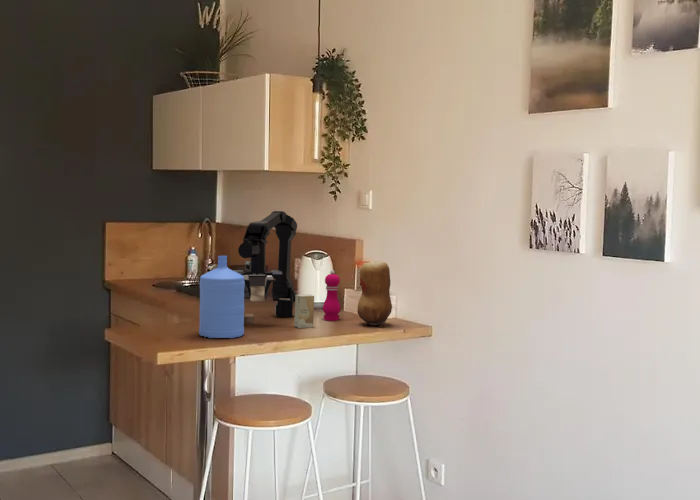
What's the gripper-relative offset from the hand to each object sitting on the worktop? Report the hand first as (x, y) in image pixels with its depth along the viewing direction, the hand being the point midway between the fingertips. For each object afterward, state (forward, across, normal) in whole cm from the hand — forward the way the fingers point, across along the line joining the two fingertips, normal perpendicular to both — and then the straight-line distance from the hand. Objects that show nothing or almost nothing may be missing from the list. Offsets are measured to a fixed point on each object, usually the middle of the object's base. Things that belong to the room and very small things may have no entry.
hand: (257, 297), depth 296 cm
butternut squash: (+11, -46, +1) cm, 47 cm away
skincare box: (+11, -18, +4) cm, 21 cm away
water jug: (+11, +14, +18) cm, 25 cm away
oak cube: (+1, 0, 0) cm, 1 cm away
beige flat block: (+11, +4, -8) cm, 14 cm away
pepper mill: (+11, -31, -12) cm, 35 cm away
